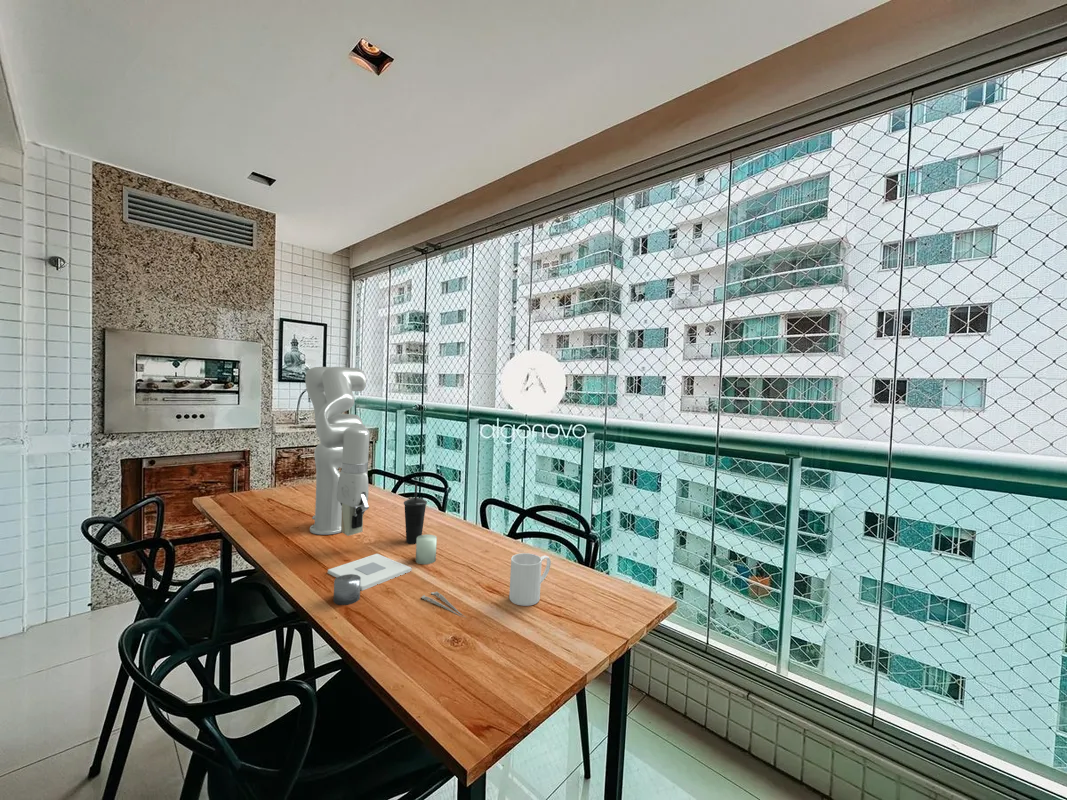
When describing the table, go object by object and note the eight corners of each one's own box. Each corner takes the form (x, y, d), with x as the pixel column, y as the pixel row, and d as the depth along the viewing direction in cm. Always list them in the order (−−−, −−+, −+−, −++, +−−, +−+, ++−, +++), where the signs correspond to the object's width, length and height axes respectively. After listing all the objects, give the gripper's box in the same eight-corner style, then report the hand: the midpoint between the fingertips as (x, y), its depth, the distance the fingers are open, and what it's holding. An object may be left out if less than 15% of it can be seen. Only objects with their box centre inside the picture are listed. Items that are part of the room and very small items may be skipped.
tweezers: (419, 600, 113) (420, 592, 113) (434, 594, 116) (435, 587, 116) (463, 632, 101) (464, 624, 101) (479, 625, 105) (479, 617, 105)
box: (355, 528, 142) (357, 494, 141) (363, 532, 140) (364, 497, 139) (339, 532, 138) (341, 497, 137) (346, 536, 136) (348, 500, 135)
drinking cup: (428, 538, 155) (430, 481, 154) (420, 546, 148) (423, 486, 147) (407, 536, 156) (409, 480, 155) (398, 544, 148) (400, 485, 148)
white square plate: (327, 573, 124) (327, 569, 124) (377, 556, 137) (377, 553, 137) (362, 590, 115) (362, 586, 115) (411, 571, 128) (411, 567, 128)
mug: (522, 609, 110) (524, 567, 109) (503, 597, 116) (505, 557, 115) (558, 596, 118) (560, 557, 117) (538, 585, 124) (540, 547, 123)
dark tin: (328, 599, 110) (329, 579, 110) (350, 591, 115) (351, 572, 115) (342, 607, 106) (343, 587, 106) (364, 598, 111) (365, 579, 111)
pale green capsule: (411, 560, 136) (412, 538, 136) (426, 555, 141) (427, 533, 141) (424, 566, 132) (425, 542, 132) (439, 560, 137) (440, 537, 137)
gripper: (328, 464, 139) (325, 521, 140) (360, 475, 130) (357, 536, 131) (349, 461, 145) (347, 515, 147) (382, 471, 136) (379, 529, 137)
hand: (351, 524), depth 139 cm, fingers closed on box, 4 cm apart
